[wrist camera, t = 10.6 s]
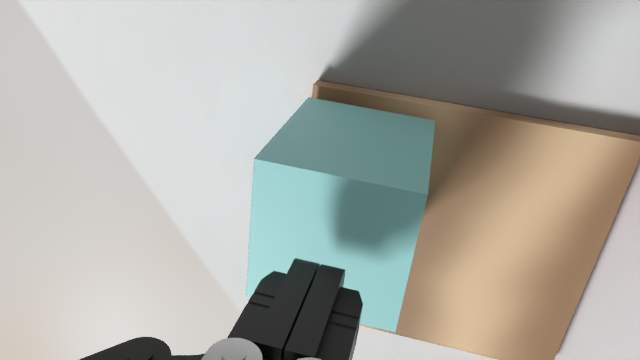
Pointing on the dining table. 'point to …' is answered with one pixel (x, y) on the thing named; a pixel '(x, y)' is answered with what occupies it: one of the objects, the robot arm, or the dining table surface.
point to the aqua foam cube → (343, 200)
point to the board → (504, 223)
